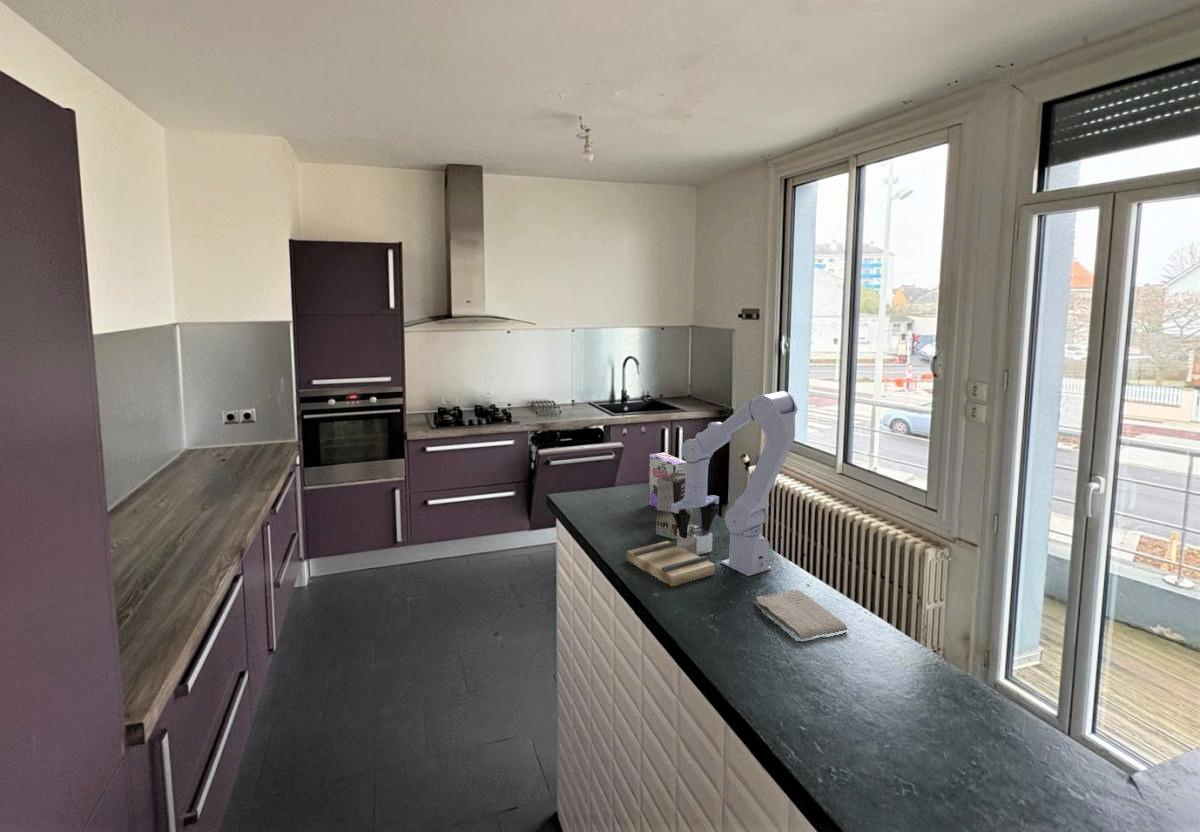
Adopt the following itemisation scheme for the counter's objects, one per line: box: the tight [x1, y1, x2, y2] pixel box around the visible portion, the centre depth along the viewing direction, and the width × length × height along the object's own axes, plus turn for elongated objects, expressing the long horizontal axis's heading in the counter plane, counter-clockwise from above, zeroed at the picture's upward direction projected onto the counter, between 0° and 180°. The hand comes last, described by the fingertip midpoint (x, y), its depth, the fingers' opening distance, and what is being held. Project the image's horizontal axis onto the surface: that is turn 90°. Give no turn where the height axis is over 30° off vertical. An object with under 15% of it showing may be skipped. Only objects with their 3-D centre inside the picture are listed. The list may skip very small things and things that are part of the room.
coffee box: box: [655, 472, 693, 540], centre depth 190 cm, size 9×6×16 cm
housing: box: [676, 524, 714, 556], centre depth 180 cm, size 8×5×6 cm, turn 32°
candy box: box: [648, 451, 686, 510], centre depth 210 cm, size 14×6×16 cm, turn 28°
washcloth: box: [753, 589, 848, 639], centre depth 143 cm, size 12×18×3 cm, turn 20°
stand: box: [626, 540, 716, 587], centre depth 168 cm, size 18×13×3 cm
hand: (694, 534), depth 180 cm, fingers open, 7 cm apart
